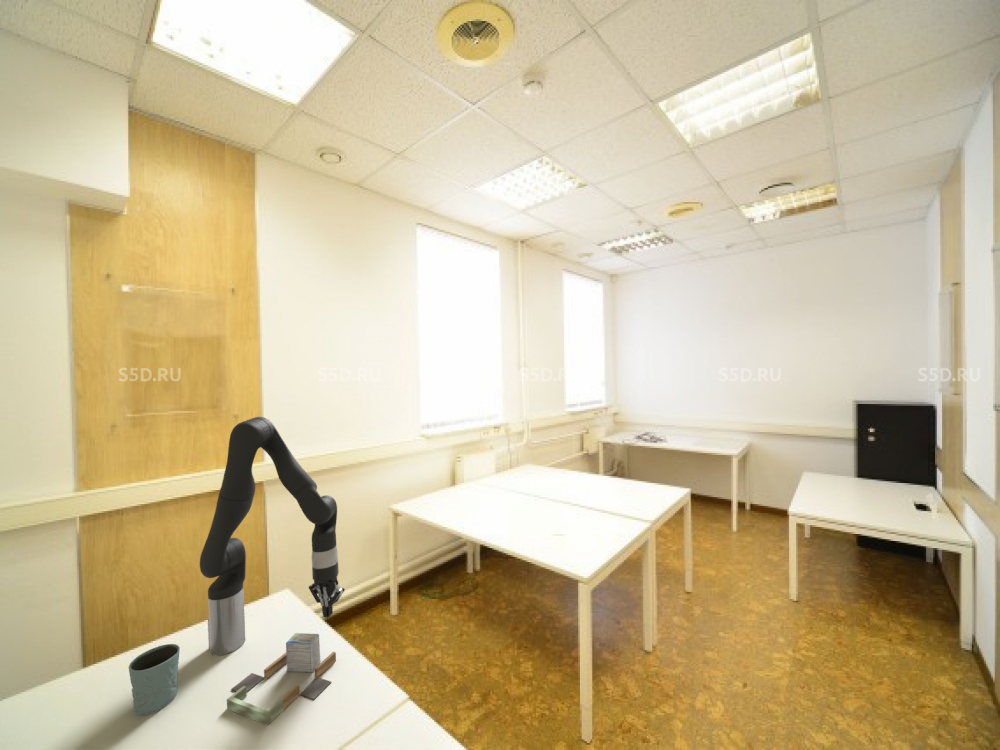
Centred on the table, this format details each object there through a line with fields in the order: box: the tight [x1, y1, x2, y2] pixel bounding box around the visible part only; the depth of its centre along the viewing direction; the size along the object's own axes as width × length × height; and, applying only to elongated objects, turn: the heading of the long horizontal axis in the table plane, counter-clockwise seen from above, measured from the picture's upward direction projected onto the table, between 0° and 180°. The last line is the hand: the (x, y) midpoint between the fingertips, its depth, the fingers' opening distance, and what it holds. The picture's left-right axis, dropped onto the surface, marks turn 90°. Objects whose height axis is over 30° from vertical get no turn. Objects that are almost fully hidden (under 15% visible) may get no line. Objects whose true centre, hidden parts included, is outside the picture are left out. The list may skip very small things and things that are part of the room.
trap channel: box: [226, 651, 337, 726], centre depth 109 cm, size 24×22×2 cm
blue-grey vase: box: [128, 643, 181, 717], centre depth 104 cm, size 10×10×12 cm
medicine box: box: [285, 632, 321, 673], centre depth 115 cm, size 8×4×9 cm, turn 84°
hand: (327, 616), depth 123 cm, fingers closed
